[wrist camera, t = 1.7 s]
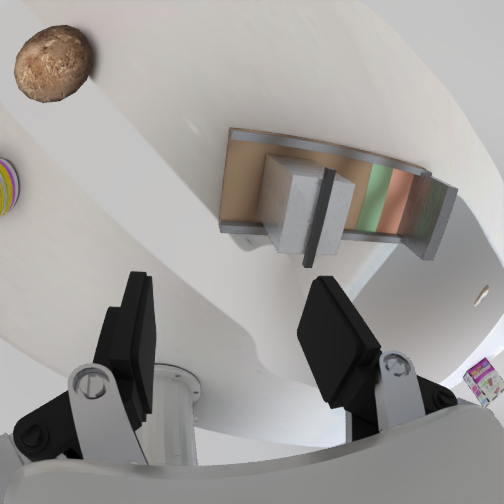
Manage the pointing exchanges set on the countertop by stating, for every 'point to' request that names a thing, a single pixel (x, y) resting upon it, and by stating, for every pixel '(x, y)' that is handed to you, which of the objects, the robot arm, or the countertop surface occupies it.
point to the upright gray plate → (426, 215)
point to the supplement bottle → (7, 187)
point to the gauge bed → (329, 155)
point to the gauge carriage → (303, 206)
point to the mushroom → (53, 64)
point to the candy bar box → (484, 382)
